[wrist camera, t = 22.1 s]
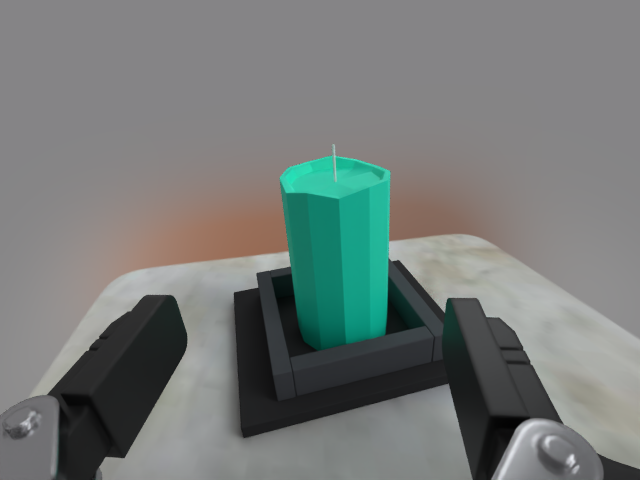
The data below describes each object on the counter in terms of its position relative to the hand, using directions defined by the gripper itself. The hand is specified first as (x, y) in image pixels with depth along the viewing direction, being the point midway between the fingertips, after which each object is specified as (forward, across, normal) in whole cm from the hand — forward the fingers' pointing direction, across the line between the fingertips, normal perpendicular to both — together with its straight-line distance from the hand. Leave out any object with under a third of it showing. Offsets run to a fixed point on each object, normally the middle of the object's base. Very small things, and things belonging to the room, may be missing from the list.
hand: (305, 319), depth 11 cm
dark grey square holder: (+11, 0, +10) cm, 15 cm away
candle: (+11, 0, +10) cm, 14 cm away
